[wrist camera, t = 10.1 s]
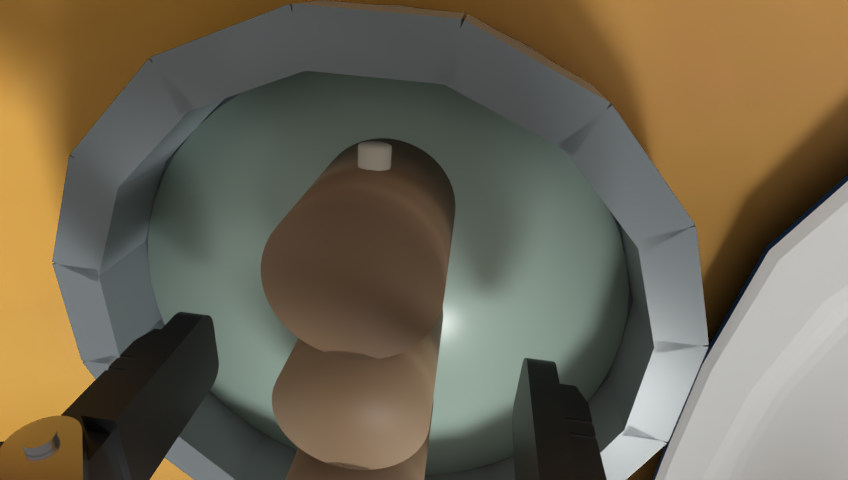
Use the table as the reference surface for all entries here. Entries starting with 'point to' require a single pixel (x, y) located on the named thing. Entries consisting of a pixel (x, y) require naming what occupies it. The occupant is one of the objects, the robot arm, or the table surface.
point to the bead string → (362, 312)
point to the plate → (776, 366)
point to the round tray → (471, 240)
